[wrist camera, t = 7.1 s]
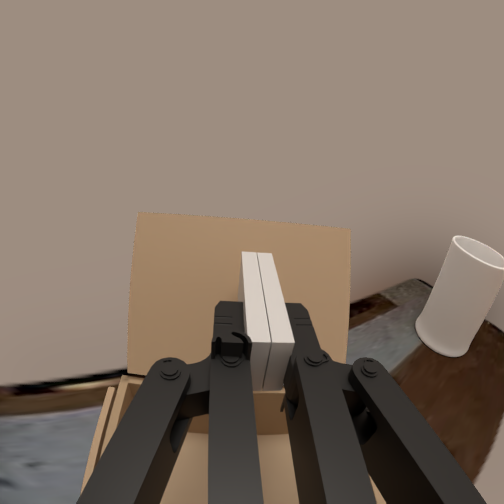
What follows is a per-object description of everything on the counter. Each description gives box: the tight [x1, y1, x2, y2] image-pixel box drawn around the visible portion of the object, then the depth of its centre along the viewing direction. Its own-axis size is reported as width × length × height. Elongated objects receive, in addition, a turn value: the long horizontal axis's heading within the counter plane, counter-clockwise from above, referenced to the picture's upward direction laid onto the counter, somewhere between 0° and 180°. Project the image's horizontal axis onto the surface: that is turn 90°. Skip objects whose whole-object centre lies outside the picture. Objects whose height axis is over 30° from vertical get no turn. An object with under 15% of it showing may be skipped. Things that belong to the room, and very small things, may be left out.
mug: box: [415, 236, 504, 357], centre depth 28 cm, size 12×8×12 cm
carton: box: [80, 375, 387, 504], centre depth 12 cm, size 15×13×6 cm
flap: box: [127, 212, 351, 375], centre depth 17 cm, size 13×1×10 cm
